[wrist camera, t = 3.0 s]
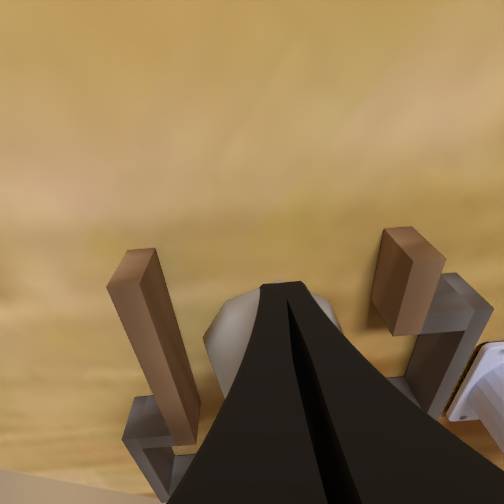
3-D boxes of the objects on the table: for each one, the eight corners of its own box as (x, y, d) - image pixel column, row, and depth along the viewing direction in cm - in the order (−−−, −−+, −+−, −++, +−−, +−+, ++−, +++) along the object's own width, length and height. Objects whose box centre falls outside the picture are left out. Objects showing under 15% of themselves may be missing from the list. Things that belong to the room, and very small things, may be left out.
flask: (268, 387, 19) (294, 648, 10) (179, 334, 16) (115, 641, 7) (365, 330, 16) (501, 612, 8) (281, 253, 13) (361, 579, 5)
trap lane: (476, 220, 13) (523, 252, 11) (378, 476, 27) (390, 511, 25) (63, 255, 13) (29, 293, 11) (182, 493, 27) (178, 529, 25)
